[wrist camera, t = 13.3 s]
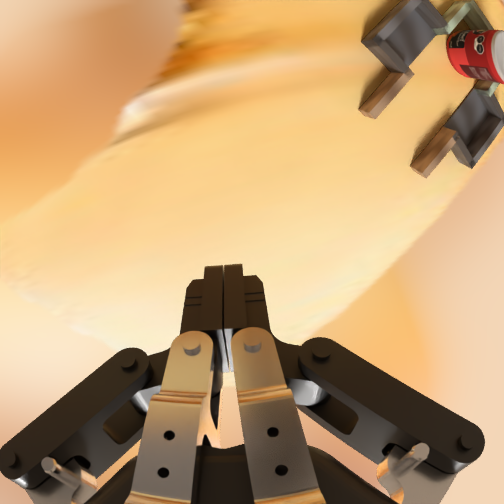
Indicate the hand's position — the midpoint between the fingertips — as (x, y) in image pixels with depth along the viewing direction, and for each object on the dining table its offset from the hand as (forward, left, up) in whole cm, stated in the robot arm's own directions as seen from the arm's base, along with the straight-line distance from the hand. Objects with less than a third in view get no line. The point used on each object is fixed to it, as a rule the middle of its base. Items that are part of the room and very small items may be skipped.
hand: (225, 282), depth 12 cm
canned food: (-16, +36, -29) cm, 49 cm away
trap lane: (-11, +32, -29) cm, 44 cm away
